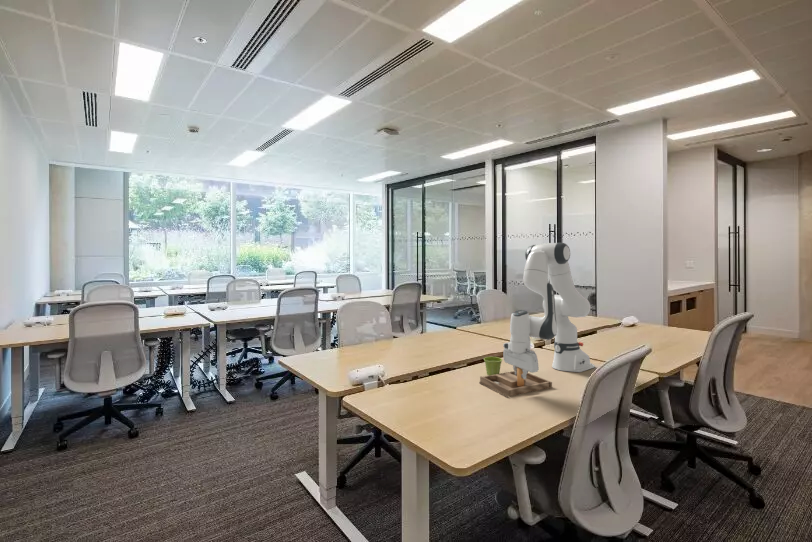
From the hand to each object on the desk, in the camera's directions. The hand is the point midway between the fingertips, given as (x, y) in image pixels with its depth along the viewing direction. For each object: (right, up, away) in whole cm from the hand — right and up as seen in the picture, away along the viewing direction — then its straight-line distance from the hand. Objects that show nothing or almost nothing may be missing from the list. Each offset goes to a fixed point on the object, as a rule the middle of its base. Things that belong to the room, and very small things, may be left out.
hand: (520, 377), depth 181 cm
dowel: (0, -4, 0) cm, 4 cm away
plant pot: (-7, -6, +23) cm, 25 cm away
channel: (-1, -6, +7) cm, 9 cm away
